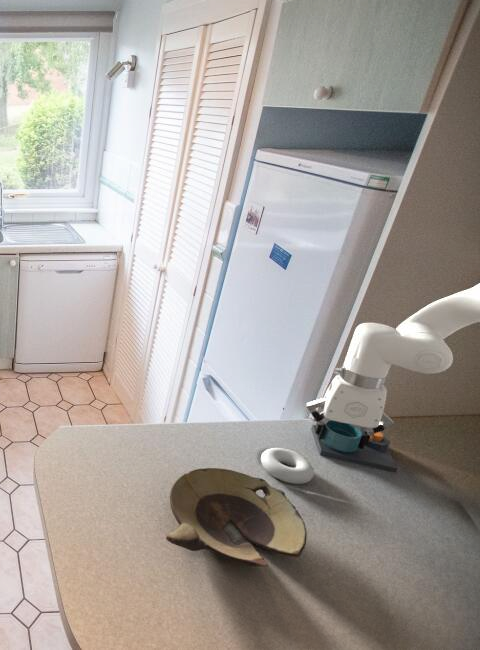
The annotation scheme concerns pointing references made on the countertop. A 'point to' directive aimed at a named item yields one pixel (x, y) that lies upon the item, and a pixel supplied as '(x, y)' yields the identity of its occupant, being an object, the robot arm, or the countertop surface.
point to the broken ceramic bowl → (234, 516)
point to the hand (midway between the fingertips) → (338, 440)
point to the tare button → (377, 436)
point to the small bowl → (342, 436)
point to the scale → (362, 454)
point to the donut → (294, 475)
